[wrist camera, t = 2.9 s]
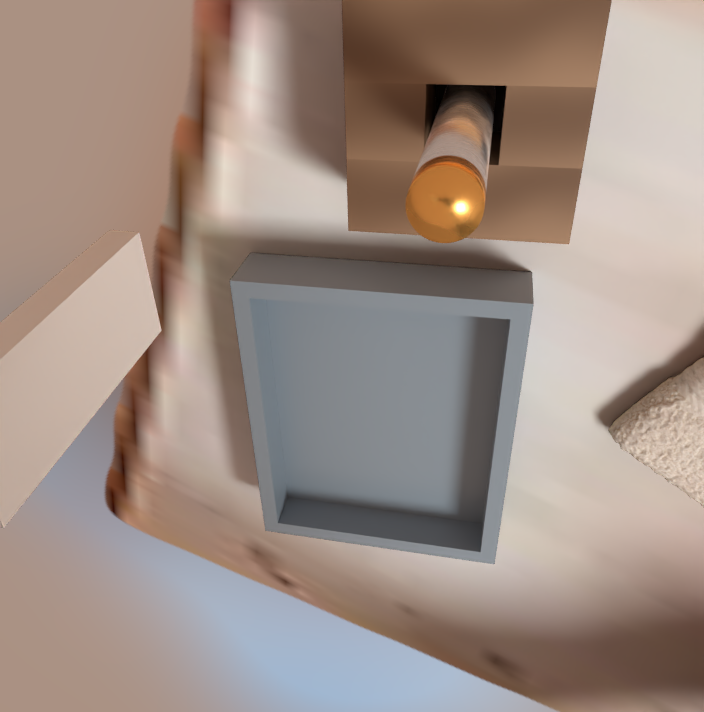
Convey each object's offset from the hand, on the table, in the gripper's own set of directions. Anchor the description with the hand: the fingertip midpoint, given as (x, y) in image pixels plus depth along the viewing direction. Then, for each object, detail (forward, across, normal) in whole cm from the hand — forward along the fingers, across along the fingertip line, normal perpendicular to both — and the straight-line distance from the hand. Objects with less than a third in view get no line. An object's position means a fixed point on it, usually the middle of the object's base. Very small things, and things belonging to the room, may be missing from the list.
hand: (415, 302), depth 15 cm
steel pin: (+20, 0, 0) cm, 20 cm away
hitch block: (+20, 0, 0) cm, 20 cm away
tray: (+20, +4, +19) cm, 28 cm away
